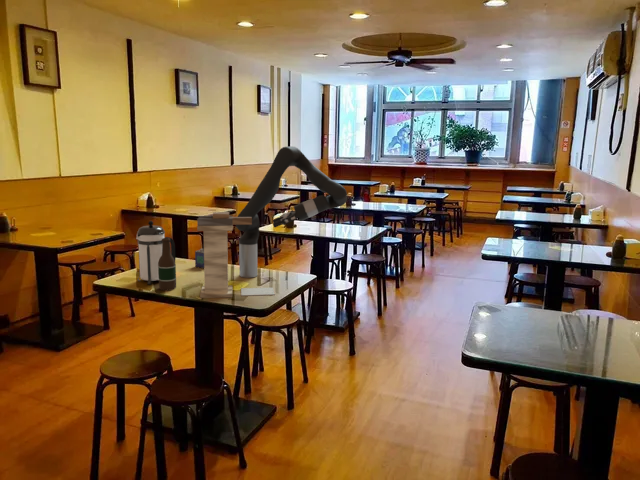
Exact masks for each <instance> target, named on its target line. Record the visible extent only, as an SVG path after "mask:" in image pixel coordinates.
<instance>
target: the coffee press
mask: <svg viewBox="0 0 640 480" xmlns="http://www.w3.org/2000/svg"><path fill="white" fill-rule="evenodd" d="M136 232H137V233H136V237H135V239H136V240H137V245H138V246H137V247H138V264H139V265H138V266H139V276H138V278H137V282H141V281H142V280H143V281H147V285H149V286H150V285H152V283H153V282H154V281H159V274H158V262H159V259H160V257H161V256H162V239H163V238H170V250H171V255H172V256H173V258H174V260H175V261H176V244H175V240H174V239H173V238H172V237H168V236H165V234H166V231H165V229H164V228H163V227H162V226H160V225H154V221H153V220H149V221H148V225H143V226H141V227H139V228H138V231H136ZM139 278H140V280H139Z"/></svg>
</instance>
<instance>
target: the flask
mask: <svg viewBox="0 0 640 480" xmlns="http://www.w3.org/2000/svg"><path fill="white" fill-rule="evenodd" d="M194 260H195V261H194V263H195V265H194V267H195V268H197V267H199V268H198V269H204V248H199V249H198V250H195V251H194Z"/></svg>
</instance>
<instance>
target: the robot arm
mask: <svg viewBox="0 0 640 480" xmlns="http://www.w3.org/2000/svg"><path fill="white" fill-rule="evenodd" d="M289 167H295V168H296V169H298V170H300V171H302V173H304V175H305V176H306V177H307V178H308V180H309V182H310V183H311V184H312V185H313V186H315V188H317V189H318V190H319V191H320V192H321V193H325V194H326V193H327V194H328V195H326V196H325V195H319V196H315V197H314V198H311V199H308V200H306V201H302V202H300V203H298V204H295V205H294V206H293V209H294V210H291V211H288V212H286V213H283V214H281V215H280V216H279V217H277V218H274V219H272V226H273V228H278V227H279V226H281V225H283V226H286V225H287V224H290V223H292V222H294V221H296V220H297V218H298V220H299V222H302V221H305V220H307V219H309V218H312V217H314V216H316V215H317V214H319V213H321V212H324V211H326V210H330V209H332V210H333V209H335V208H338V207H342V206H343V205H345V204H346V203H347V202H348V192H347V189H346V188H345V187H344V186H343V185H342V184H340V183H338V182H336V181H334V180H333V179H331V178H330V177H329V176H328V175H326V173H324V172H322V170H320V169H319V168H318V167H317V166H315V165H314V163H312V161H310V160H309V159H308V157H307V156H306V155H305V154H304V153H303V152H302V151H301V150H300V149H299V148H298V147H296V146H291V145H290V146H283V147H281V148H280V149H279V150H278V151H277V153H276V155H275V156H274V159H273V162H272V163H271V165H270V167H269V169H268V171H267V172H266V174H265V176H264V177H263V179H261V182H260V183H259V184H258V186H257V188H256V189H255V191H254V192H253V194H252V196H251V197H250V198H249V200H248V202H247V203H246V204H245V206H244V207H243V208H242V210H241V211H240V213H238V215H237V216H236V217H252V224H249V225H235V227H236V229H238V231H241V232H243V234H242V235H241V236H240V237H239V239H238V240H239V241H238V242H239V243H238V248H239V253H238V254H239V255H238V256H239V257H238V258H239V264H238V265H239V277H241V278H245V279H247V278H250V279H251V278H255V277H257V276H258V240H259V236H260V218H259V215H258V213H259V212H260V211H261V210H262V209H264V208H265V207H266V206H267V205H268V204H269V203H271V201H272V200H273V199H274V197H275V196H276V195H277V193H278V192H279V189H280V185H281V178H282V177H283V175H284V173H285V172H286V171H287V169H289Z"/></svg>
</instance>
